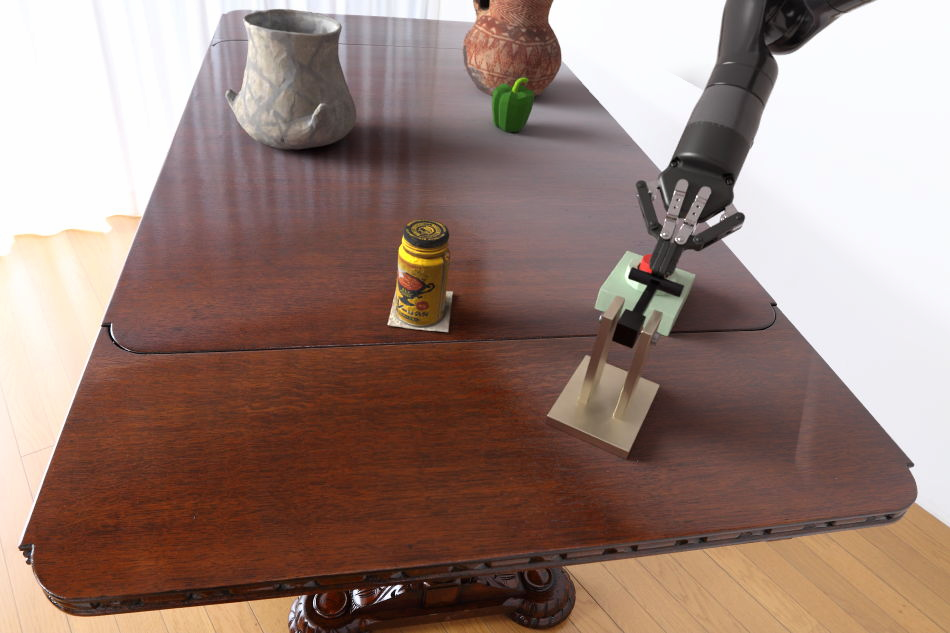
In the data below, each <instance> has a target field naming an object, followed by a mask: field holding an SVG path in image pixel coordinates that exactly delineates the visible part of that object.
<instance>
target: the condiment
mask: <svg viewBox="0 0 950 633" xmlns="http://www.w3.org/2000/svg"><path fill="white" fill-rule="evenodd" d="M449 239H450V231H449V229H448V226H446V225H444V224H443V223H442V222H440V221H436V220H434V219H433V220H432V219H428V218H426V219H424V218H423V219H422V218H421V219H415V220H412V221H409V222H407V223H406V224H405V226H404V228H403V230H402V239H401V244H400V246H399V248H398V253H397V254H398V255H397V271H396V287H395V292H394V296H393V300H392V303H391V304H392V305H391V309H390V312H389V317H388V322H387V326H390V327H397V328H404V329H411V330H422V331H429V332H431V331H432V332H442V333H443V332H444V333H449V328H450V327H449V326H450V318H451V310H452V302H453V294H454V293H453V291H450V290H448V289H447V288H448V281H449V271H450V263H451V252H450V251H451V250H450V249H449V246H450V245H449V243H450V242H449Z"/></svg>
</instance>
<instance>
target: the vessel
mask: <svg viewBox="0 0 950 633" xmlns="http://www.w3.org/2000/svg"><path fill="white" fill-rule="evenodd" d="M242 21H243V24H244V27H245V30H246V34H247V55H246V56H247V57H246V64H245V68H244V71H243V72H244V73H243V79H242V85H241V88H240V91H239V92H238V93H236V92H235V91H234V90H232V89H231V88H230V89H227V90H226V91H225V95H224V97H225V99H226V102H227V103H228V104H229V106H230V108H231V110H232V111H233V113H234V115H235V117H236V118H235V119H236V120H237V122H238V123H239V125H240V126H241V127H242V129H243V130H244V131H245V132H246V133H247V134H248V135H249V136H250V137H251V138H252V139H254V141H256V142H259V143H261V144H262V145H265V146H268V147H272V148H274V149H278V150H303V149H311V148H318V147H319V148H320V147H325V146H327V145H331V144H335V143H337V142H338V141H340V140H342V139H344V138H345V137H346V136H347V135H348V134H349V133H350V132H351V130H352V129H353V128H354V125H355V124H356V120H357V108H356V105H355V101H354V99H353V96H352V94H351V92H350V88H349V85H348V83H347V81H346V77H345V74H344V70H343V68H342V64H341V61H340V57H339V55H340V54H339V48H340V47H339V45H340V44H339V42H340V36H341V32H342V28H343V26H342V24H341V23H340V22H339V21H338V20H336V19H334V18H331V17H329V16H327V15H324V14H321V13H317V12H312V11H305V10H297V9H291V8H289V9H287V8H271V9H266V10H257V11H254V12H251V13H247V14H246V15H245V16H244V17H243V20H242Z"/></svg>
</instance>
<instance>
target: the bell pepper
mask: <svg viewBox="0 0 950 633" xmlns="http://www.w3.org/2000/svg"><path fill="white" fill-rule="evenodd" d="M528 81H529V79H527V78H525V77H524V78H520V79H518V80H517V81H516V82H515V84H514V86H513V87H510V86H508V85H507V84H503V83H502V84H500V85H499V86H498V87H497V88H496V89H495V90H494V92H493V95H491V113H492V114H491V115H492V122H493V124H494V126H495V127H498V128H500V129H501V130H503V132H508V133H518V132H519V131H521V130H522V129H523V128H524V127H525V126H526V124H527V122H528V120H529V117H530V115H531V112H532V110H533V105H534V100H535V96H534V93H533V90H529V89H527V88H526V87H525V86H524V85H520V84H521V83H523V82H524V83H527V82H528Z"/></svg>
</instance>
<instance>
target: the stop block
mask: <svg viewBox="0 0 950 633" xmlns="http://www.w3.org/2000/svg"><path fill="white" fill-rule="evenodd" d="M644 256H645V255H640V254H638V253H635V252H632V251H629V250H626V252H625V253H624V255H623V256H622V258H621V259H620V260H619V261H618V263H617V264H616V266H615V267H614V268H613V270H612V271H611V273H610V274H609V275H608V277H607V278H606V280H605V281H604V283H603V284H602V285H601V287H600V288H599V291H598V294H597V298H596V302H595V305H594V310H597V311H600V312H601V313H602V312H603V311H604V312H606V310H607V309H608V307H609V306H610V304H611V303H612V301H613V300H614V298H615V297H616V295H617V296H620V297H623V298H625V302H624V305H623V309H622V312H621V315H622V314H623V312H624V310H625V309H628V310H631V311H632V310H633V308H634V307H635V305H636V303H637V302H638V300H639V298H640V297H641V295H642V293H643V292H644V290H645V288H646V287H647V286H646V285H644V284H641V283H638V282H635V281H633V280H630V279H628V275H629V272H630V270H631V268H632V267H635V268H638V269H639V268H640V265H641V261H642V258H643V257H644ZM665 279H668V280H671V281H674V282H677V283H679V284H682V285H684V289H683V291H682V294H681V296H680V297H676V296H674V295H671V294H668V293H665V292H663V291H660V290H657V292H656V294H655V296H654V298H653V299H652V301H651V303H650V305H649V306H648V308H647V310H646V312H645V314H644V316H646V319H645V322H644V325H643V328H644V327H645V325H646V323H647V321H648V320H649V318H650V316H651V314H652V312H653V310H657V311H660V312H662V313H663V316H662V319H661V322H660V324H659V327H658V330H657V332H659V333H660V335H661V336H665V337H669V335H670V333H671V331H672V329H673V327H674V326H675V324H676V321H677V319H678V317H679V316H680V313H681V311H682V310H683V307H684V305H685V304H686V301H687V299H688V297H689V295H690V291H691V289H692V287H693V284H694V281H695V280H696V274H695V273H692V272H690V271H686V270H683V269H680V268H677V267H676V269H675V271H674V273H673V274H672V275H671V276H668V275H666V277H665ZM621 315H620V317H621Z"/></svg>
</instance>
